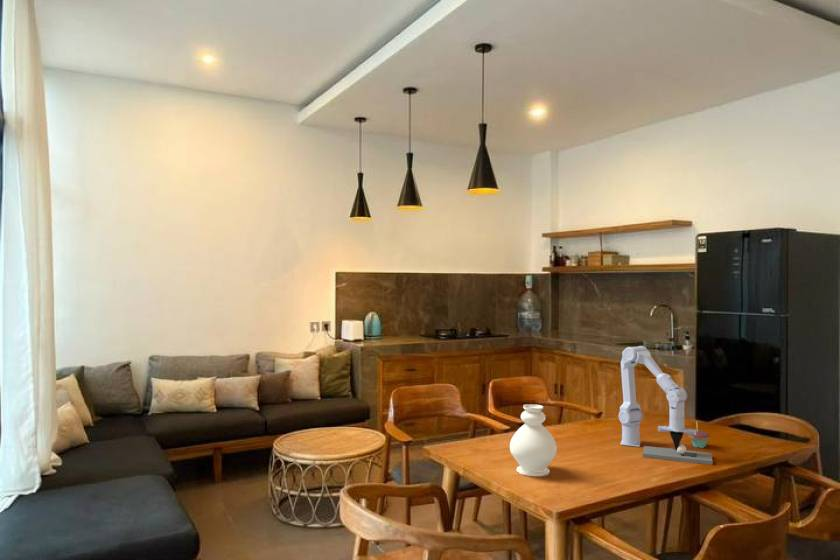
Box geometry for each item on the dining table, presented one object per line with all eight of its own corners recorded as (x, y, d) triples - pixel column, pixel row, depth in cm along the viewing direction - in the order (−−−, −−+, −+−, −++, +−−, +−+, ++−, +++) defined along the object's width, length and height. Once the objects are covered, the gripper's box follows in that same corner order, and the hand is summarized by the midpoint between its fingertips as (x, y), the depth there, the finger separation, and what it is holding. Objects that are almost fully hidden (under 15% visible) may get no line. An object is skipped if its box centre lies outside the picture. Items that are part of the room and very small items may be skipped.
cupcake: (703, 450, 253) (703, 422, 253) (684, 445, 260) (684, 418, 260) (713, 446, 259) (713, 419, 258) (694, 442, 265) (694, 416, 265)
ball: (687, 444, 244) (685, 454, 245) (676, 441, 246) (674, 451, 246) (687, 446, 241) (685, 456, 241) (676, 444, 242) (674, 453, 243)
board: (644, 449, 255) (644, 445, 255) (710, 456, 245) (710, 452, 245) (642, 457, 244) (642, 453, 244) (712, 464, 234) (712, 461, 234)
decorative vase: (565, 471, 226) (565, 406, 226) (539, 482, 214) (539, 413, 214) (527, 460, 239) (527, 399, 239) (500, 470, 227) (500, 406, 226)
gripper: (657, 417, 243) (657, 450, 243) (696, 421, 237) (696, 454, 237) (658, 414, 250) (658, 446, 250) (695, 417, 244) (695, 450, 244)
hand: (676, 450), depth 244 cm, fingers closed, pressing on ball
